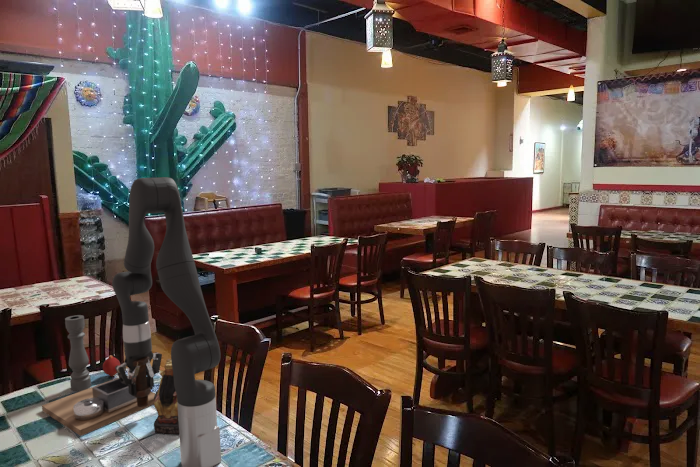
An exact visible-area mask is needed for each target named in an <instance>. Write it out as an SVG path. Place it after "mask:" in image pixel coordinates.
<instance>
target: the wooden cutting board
mask: <svg viewBox="0 0 700 467" xmlns="http://www.w3.org/2000/svg"><path fill="white" fill-rule="evenodd" d="M117 378H118V377H117ZM117 378H113V379H111V380H108V381H105V382H103V383H99V384H98V385H101V384H104V383H106V382H109V381H112V380H115V379H117ZM98 385H95V386H91V387H90V388H88V389H86V390H83V391H77V392H74V393H73V394H70V395H67V396H64V397H62V398H59V399H57V400H54V401H51V402H47V403H45V404H42V405H41V410H42V412H43V413H45V414H46V415H48V416H50V417H51V418H52V419H53V420H56V422H58V423H60V424H61V425H63V426H64V427H66V428H68V429H69V430H71V431H72V432H74V433H75V434H77V435H78V436H79V437H83V436H84V435H86V434H87V435H88V433H89V434H90V433H91V432H93V431H96V430H98V429H101V428H103V427H105V426H107V425H110V424H112V423H114V422H117V421H119V420H121V419H123V418H126V417H128V416H130V415H133V414H134V413H137V412H138V411H142V410H144V409H145V408H149V407H151V406H154V403H155V399H154V396H155V394H156V392H153V391H151V392H150V394H149V395H148V402H149V403H148V405H147V406H146V407H138V406H137V401H136V402H133V403H131V404H129V405H126V406H124V407H121V408H119V409H117V410H114V411H112V412H110V413H108V412H106V411H105V410H104V412H103V413H102V414H101V415H100V416H98V417H95V418H92V419H88V420H77V419H75V417H74V408H73V407H74V405H75V404H76V403H78V402H79V401H82V400H84V399H88V398H93V391H92V388H93V387H96V386H98Z"/></svg>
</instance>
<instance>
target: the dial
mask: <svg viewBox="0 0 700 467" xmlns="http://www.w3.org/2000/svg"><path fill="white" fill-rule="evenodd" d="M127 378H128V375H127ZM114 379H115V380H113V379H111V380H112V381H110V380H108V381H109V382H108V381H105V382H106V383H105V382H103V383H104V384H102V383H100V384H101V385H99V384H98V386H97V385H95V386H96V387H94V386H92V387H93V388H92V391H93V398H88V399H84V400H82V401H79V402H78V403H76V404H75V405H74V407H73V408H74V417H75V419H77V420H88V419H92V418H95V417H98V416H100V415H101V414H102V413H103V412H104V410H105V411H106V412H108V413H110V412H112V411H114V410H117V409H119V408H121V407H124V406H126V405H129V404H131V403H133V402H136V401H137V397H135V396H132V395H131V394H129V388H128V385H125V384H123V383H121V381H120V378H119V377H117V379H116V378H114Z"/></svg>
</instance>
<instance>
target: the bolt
mask: <svg viewBox="0 0 700 467" xmlns="http://www.w3.org/2000/svg"><path fill="white" fill-rule="evenodd" d="M148 359H149V361H150V358H149V357H148V356H147V357H144V358H141V359H139V360H136V361H134V362H133V367H134V366H136V364H137V362H138V366H140V367H139V372H138V376H137V377H136V382H135V384H136V391H137V395H136V396H135V397H137V406H138V407H146V406H147V405H148V403H149V402H148V395H149V394H150V392H152V389H151V388H150V387H149V386H147V375H146V365H145V364H146V363H148V362H149V361H148ZM146 408H147V407H146Z"/></svg>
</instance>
